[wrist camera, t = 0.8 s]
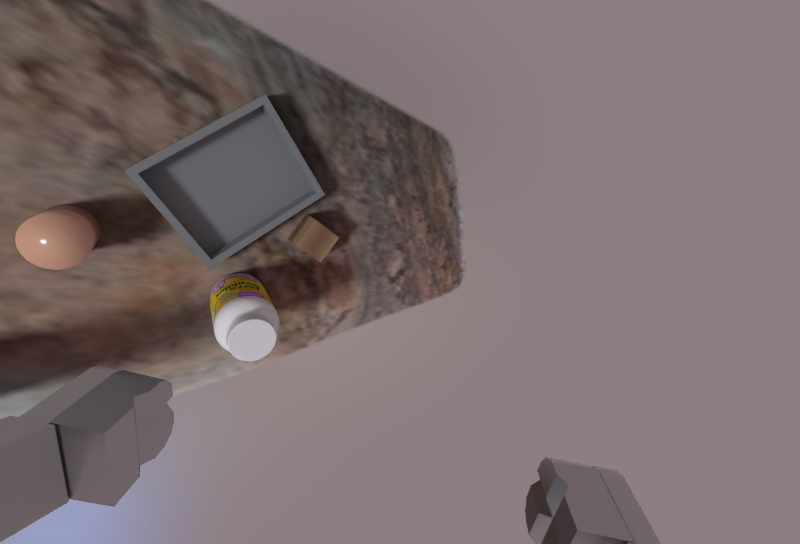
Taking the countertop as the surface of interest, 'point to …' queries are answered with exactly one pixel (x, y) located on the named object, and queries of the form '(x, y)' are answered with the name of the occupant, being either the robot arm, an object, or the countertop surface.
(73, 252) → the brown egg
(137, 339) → the countertop surface
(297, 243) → the walnut block
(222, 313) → the supplement bottle
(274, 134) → the tray
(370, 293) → the countertop surface
